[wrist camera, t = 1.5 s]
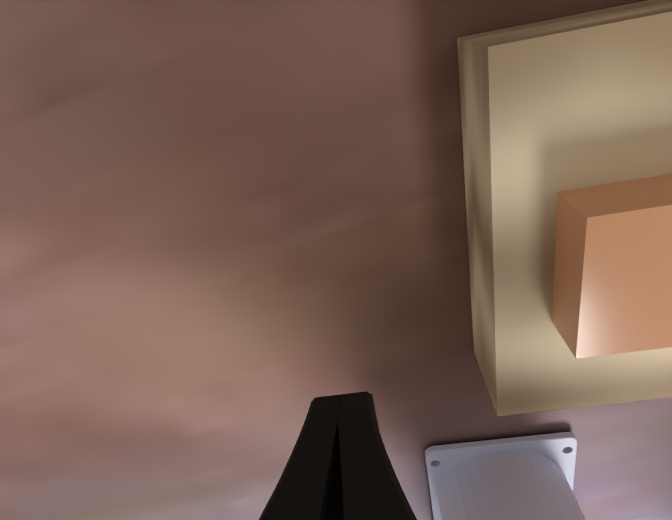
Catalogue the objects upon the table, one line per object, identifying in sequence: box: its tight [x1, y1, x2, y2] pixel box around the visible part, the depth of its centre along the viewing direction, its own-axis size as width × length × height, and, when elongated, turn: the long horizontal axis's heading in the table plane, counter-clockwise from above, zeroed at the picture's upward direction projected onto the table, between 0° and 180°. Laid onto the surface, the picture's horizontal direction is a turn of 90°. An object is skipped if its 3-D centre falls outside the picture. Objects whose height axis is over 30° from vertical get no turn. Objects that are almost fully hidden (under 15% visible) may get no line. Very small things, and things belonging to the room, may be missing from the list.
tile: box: [552, 174, 672, 359], centre depth 14 cm, size 5×5×2 cm
